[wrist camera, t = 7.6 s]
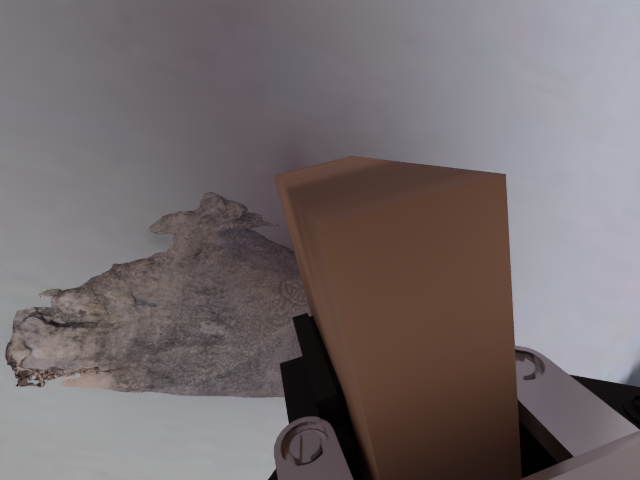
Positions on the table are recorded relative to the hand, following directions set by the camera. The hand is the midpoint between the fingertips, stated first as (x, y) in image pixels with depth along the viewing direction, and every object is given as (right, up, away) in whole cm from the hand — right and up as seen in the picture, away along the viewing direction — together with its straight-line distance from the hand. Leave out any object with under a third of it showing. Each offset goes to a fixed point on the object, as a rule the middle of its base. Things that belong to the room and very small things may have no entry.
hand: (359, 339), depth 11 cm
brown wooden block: (0, 0, +1) cm, 1 cm away
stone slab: (-5, +1, +5) cm, 7 cm away
